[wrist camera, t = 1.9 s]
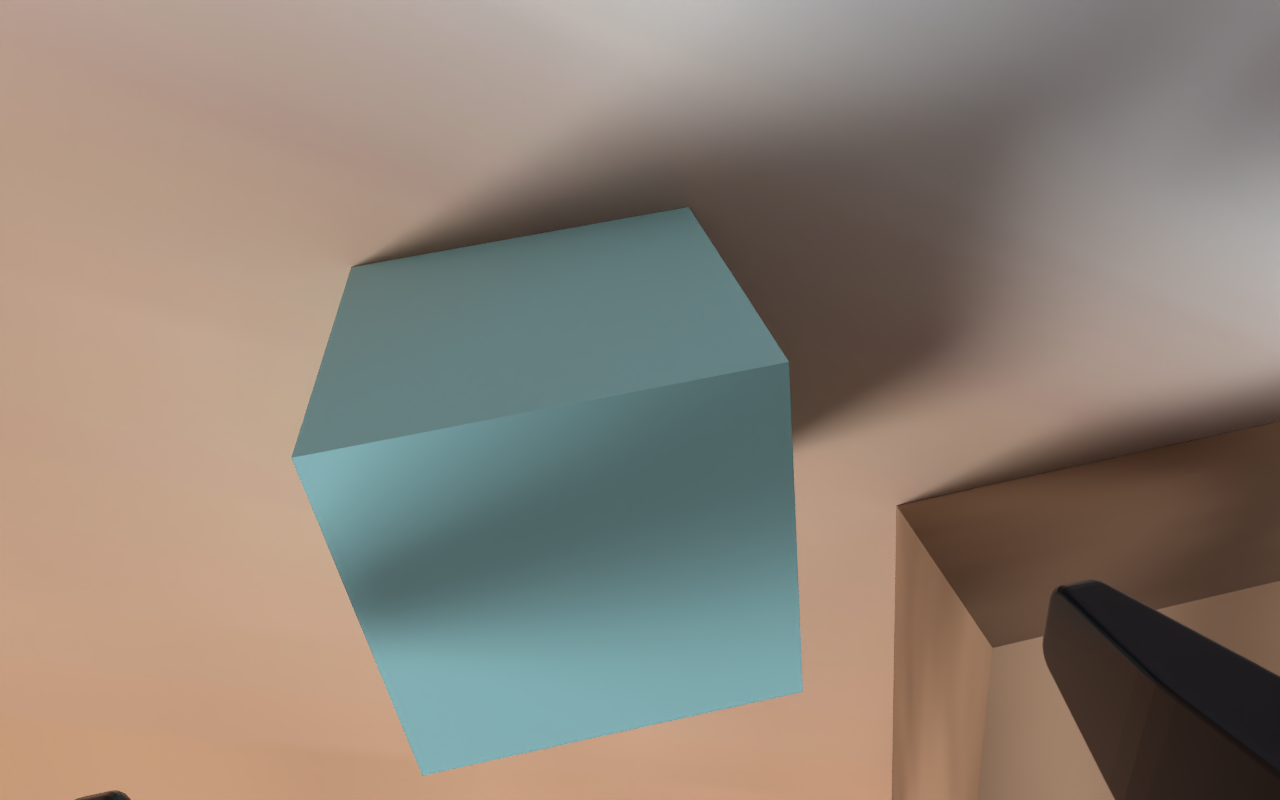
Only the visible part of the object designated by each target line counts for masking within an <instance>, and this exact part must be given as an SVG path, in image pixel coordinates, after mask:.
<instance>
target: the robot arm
mask: <svg viewBox="0 0 1280 800" xmlns="http://www.w3.org/2000/svg"><path fill="white" fill-rule="evenodd" d="M1042 647H1043V654H1044V659H1045V662H1046V664H1047V667H1048V669H1049V671H1050V673H1051V675H1052V677H1053V679H1054V681H1055V683H1056V685H1057V687H1058V689H1059V691H1060V693H1061V695H1062V697H1063V699H1064V701H1065V703H1066V705H1067V707H1068V709H1069V711H1070V713H1071V715H1072V717H1073V719H1074V721H1075V723H1076V725H1077V727H1078V729H1079V731H1080V733H1081V735H1082V737H1083V739H1084V741H1085V743H1086V745H1087V747H1088V749H1089V751H1090V753H1091V754H1092V756H1093V758H1094V760H1095V762H1096V764H1097V766H1098V768H1099V770H1100V772H1101V774H1102V776H1103V778H1104V780H1105V782H1106V784H1107V786H1108V788H1109V790H1110V792H1111V794H1112V796H1113V798H1114V799H1115V800H1280V676H1279V675H1277V674H1275V673H1273V672H1271V671H1269V670H1267V669H1266V668H1264V667H1262V666H1260V665H1258V664H1256V663H1254V662H1252V661H1251V660H1249V659H1247V658H1245V657H1243V656H1241V655H1239V654H1237V653H1236V652H1234V651H1232V650H1230V649H1228V648H1226V647H1224V646H1222V645H1220V644H1219V643H1217V642H1215V641H1213V640H1211V639H1209V638H1207V637H1205V636H1204V635H1202V634H1200V633H1198V632H1196V631H1194V630H1192V629H1190V628H1189V627H1187V626H1185V625H1183V624H1181V623H1179V622H1177V621H1175V620H1174V619H1172V618H1170V617H1168V616H1166V615H1164V614H1162V613H1160V612H1159V611H1157V610H1155V609H1153V608H1151V607H1149V606H1147V605H1145V604H1143V603H1142V602H1140V601H1138V600H1136V599H1134V598H1132V597H1130V596H1128V595H1127V594H1125V593H1123V592H1121V591H1119V590H1117V589H1115V588H1113V587H1112V586H1110V585H1108V584H1106V583H1104V582H1101V581H1098V580H1094V579H1087V580H1082V581H1077V582H1072V583H1068V584H1063V585H1059V586H1057V587H1055V589H1054V590H1053V591H1052V592H1051V595H1050V599H1049V605H1048V611H1047V617H1046V623H1045V629H1044V635H1043V642H1042ZM75 800H130V798H129V797H128V796H127V795H126V794H125V793H122V792H120V791H108V792H104V793H99V794H95V795H90V796H85V797H81V798H78V799H75Z"/></svg>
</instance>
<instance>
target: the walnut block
mask: <svg viewBox="0 0 1280 800" xmlns="http://www.w3.org/2000/svg"><path fill="white" fill-rule="evenodd" d="M1087 579H1094V580H1098V581H1101V582H1104V583H1106V584H1108V585H1110V586H1112V587H1113V588H1115V589H1117V590H1119V591H1121V592H1123V593H1125V594H1127V595H1128V596H1130V597H1132V598H1134V599H1136V600H1138V601H1140V602H1142V603H1143V604H1145V605H1147V606H1149V607H1151V608H1153V609H1155V610H1157V611H1159V612H1160V613H1162V614H1164V615H1166V616H1168V617H1170V618H1172V619H1174V620H1175V621H1177V622H1179V623H1181V624H1183V625H1185V626H1187V627H1189V628H1190V629H1192V630H1194V631H1196V632H1198V633H1200V634H1202V635H1204V636H1205V637H1207V638H1209V639H1211V640H1213V641H1215V642H1217V643H1219V644H1220V645H1222V646H1224V647H1226V648H1228V649H1230V650H1232V651H1234V652H1236V653H1237V654H1239V655H1241V656H1243V657H1245V658H1247V659H1249V660H1251V661H1252V662H1254V663H1256V664H1258V665H1260V666H1262V667H1264V668H1266V669H1267V670H1269V671H1271V672H1273V673H1275V674H1277V675H1279V676H1280V421H1278V422H1273V423H1269V424H1264V425H1260V426H1255V427H1251V428H1246V429H1242V430H1237V431H1233V432H1228V433H1224V434H1219V435H1215V436H1210V437H1206V438H1201V439H1196V440H1192V441H1187V442H1183V443H1178V444H1174V445H1169V446H1165V447H1160V448H1156V449H1151V450H1147V451H1142V452H1138V453H1133V454H1129V455H1124V456H1120V457H1115V458H1110V459H1106V460H1101V461H1097V462H1092V463H1088V464H1083V465H1079V466H1074V467H1070V468H1065V469H1061V470H1056V471H1052V472H1047V473H1043V474H1038V475H1034V476H1029V477H1024V478H1020V479H1015V480H1011V481H1006V482H1002V483H997V484H993V485H988V486H984V487H979V488H975V489H970V490H966V491H961V492H957V493H952V494H948V495H943V496H938V497H934V498H929V499H925V500H920V501H916V502H911V503H907V504H902V505H898V506H897V510H896V572H895V634H894V696H893V758H892V800H1115V799H1114V798H1113V796H1112V794H1111V792H1110V790H1109V788H1108V786H1107V784H1106V782H1105V780H1104V778H1103V776H1102V774H1101V772H1100V770H1099V768H1098V766H1097V764H1096V762H1095V760H1094V758H1093V756H1092V754H1091V753H1090V751H1089V749H1088V747H1087V745H1086V743H1085V741H1084V739H1083V737H1082V735H1081V733H1080V731H1079V729H1078V727H1077V725H1076V723H1075V721H1074V719H1073V717H1072V715H1071V713H1070V711H1069V709H1068V707H1067V705H1066V703H1065V701H1064V699H1063V697H1062V695H1061V693H1060V691H1059V689H1058V687H1057V685H1056V683H1055V681H1054V679H1053V677H1052V675H1051V673H1050V671H1049V669H1048V667H1047V664H1046V662H1045V659H1044V654H1043V647H1042V642H1043V635H1044V629H1045V623H1046V617H1047V611H1048V605H1049V599H1050V595H1051V592H1052V591H1053V590H1054V589H1055V587H1057V586H1059V585H1063V584H1068V583H1072V582H1077V581H1082V580H1087Z"/></svg>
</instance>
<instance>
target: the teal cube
mask: <svg viewBox="0 0 1280 800" xmlns="http://www.w3.org/2000/svg"><path fill="white" fill-rule="evenodd" d="M292 460H293V463H294V465H295V468H296V470H297V473H298V475H299V477H300V480H301V482H302V485H303V487H304V490H305V492H306V494H307V497H308V499H309V502H310V504H311V506H312V509H313V511H314V514H315V516H316V519H317V521H318V523H319V526H320V528H321V531H322V533H323V536H324V538H325V540H326V543H327V545H328V548H329V550H330V553H331V555H332V557H333V560H334V562H335V565H336V567H337V570H338V572H339V574H340V577H341V579H342V582H343V584H344V586H345V589H346V591H347V594H348V596H349V599H350V601H351V603H352V606H353V608H354V611H355V613H356V616H357V618H358V620H359V623H360V625H361V628H362V630H363V633H364V635H365V637H366V640H367V642H368V645H369V647H370V650H371V652H372V654H373V657H374V659H375V662H376V664H377V667H378V669H379V671H380V674H381V676H382V679H383V681H384V683H385V686H386V688H387V691H388V693H389V696H390V698H391V700H392V703H393V705H394V708H395V710H396V713H397V715H398V717H399V720H400V722H401V725H402V727H403V730H404V732H405V734H406V737H407V739H408V742H409V744H410V747H411V749H412V751H413V754H414V756H415V759H416V761H417V763H418V766H419V768H420V771H421V773H422V776H423V775H428V774H432V773H437V772H441V771H446V770H450V769H455V768H459V767H464V766H468V765H473V764H477V763H482V762H486V761H491V760H496V759H500V758H505V757H509V756H514V755H518V754H523V753H527V752H532V751H536V750H541V749H545V748H550V747H554V746H559V745H563V744H568V743H573V742H577V741H582V740H586V739H591V738H595V737H600V736H604V735H609V734H613V733H618V732H622V731H627V730H631V729H636V728H640V727H645V726H649V725H654V724H659V723H663V722H668V721H672V720H677V719H681V718H686V717H690V716H695V715H699V714H704V713H708V712H713V711H717V710H722V709H726V708H731V707H736V706H740V705H745V704H749V703H754V702H758V701H763V700H767V699H772V698H776V697H781V696H785V695H790V694H794V693H799V692H803V686H802V662H801V638H800V614H799V590H798V566H797V542H796V518H795V494H794V470H793V446H792V422H791V398H790V374H789V361H788V360H787V358H786V356H785V355H784V353H783V352H782V350H781V349H780V347H779V346H778V344H777V343H776V341H775V339H774V338H773V336H772V335H771V333H770V332H769V330H768V329H767V327H766V326H765V324H764V322H763V321H762V319H761V318H760V316H759V315H758V313H757V312H756V310H755V309H754V307H753V306H752V304H751V302H750V301H749V299H748V298H747V296H746V295H745V293H744V292H743V290H742V289H741V287H740V285H739V284H738V282H737V281H736V279H735V278H734V276H733V275H732V273H731V272H730V270H729V268H728V267H727V265H726V264H725V262H724V261H723V259H722V258H721V256H720V255H719V253H718V251H717V250H716V248H715V247H714V245H713V244H712V242H711V241H710V239H709V238H708V236H707V234H706V233H705V231H704V230H703V228H702V227H701V225H700V224H699V222H698V221H697V219H696V217H695V216H694V214H693V213H692V211H691V210H690V208H689V207H685V208H679V209H674V210H668V211H663V212H657V213H651V214H646V215H640V216H635V217H629V218H623V219H618V220H612V221H607V222H601V223H595V224H590V225H584V226H579V227H573V228H568V229H562V230H556V231H551V232H545V233H540V234H534V235H528V236H523V237H517V238H512V239H506V240H500V241H495V242H489V243H484V244H478V245H473V246H467V247H461V248H456V249H450V250H445V251H439V252H433V253H428V254H422V255H417V256H411V257H405V258H400V259H394V260H389V261H383V262H378V263H372V264H366V265H361V266H355V267H351V270H350V273H349V277H348V280H347V283H346V286H345V289H344V293H343V296H342V299H341V302H340V305H339V308H338V312H337V315H336V318H335V321H334V324H333V327H332V331H331V334H330V337H329V340H328V343H327V347H326V350H325V353H324V356H323V359H322V362H321V366H320V369H319V372H318V375H317V378H316V381H315V385H314V388H313V391H312V394H311V397H310V401H309V404H308V407H307V410H306V413H305V416H304V420H303V423H302V426H301V429H300V432H299V435H298V439H297V442H296V445H295V448H294V451H293V455H292Z"/></svg>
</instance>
